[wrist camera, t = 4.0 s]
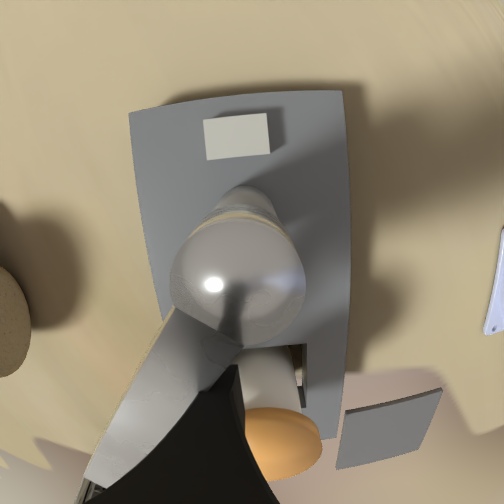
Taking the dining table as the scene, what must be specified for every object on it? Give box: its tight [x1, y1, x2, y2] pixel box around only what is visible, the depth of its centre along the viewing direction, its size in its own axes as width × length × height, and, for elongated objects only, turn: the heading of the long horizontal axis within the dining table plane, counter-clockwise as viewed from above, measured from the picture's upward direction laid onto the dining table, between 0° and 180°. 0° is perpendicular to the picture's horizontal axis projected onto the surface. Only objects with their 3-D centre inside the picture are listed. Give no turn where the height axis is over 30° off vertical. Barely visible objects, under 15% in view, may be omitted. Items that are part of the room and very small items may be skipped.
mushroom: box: [230, 345, 322, 481], centre depth 14 cm, size 5×5×7 cm
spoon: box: [83, 203, 306, 489], centre depth 8 cm, size 3×12×2 cm, turn 148°
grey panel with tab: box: [129, 90, 351, 440], centre depth 13 cm, size 9×20×7 cm, turn 5°
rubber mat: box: [336, 388, 443, 470], centre depth 20 cm, size 8×8×1 cm
